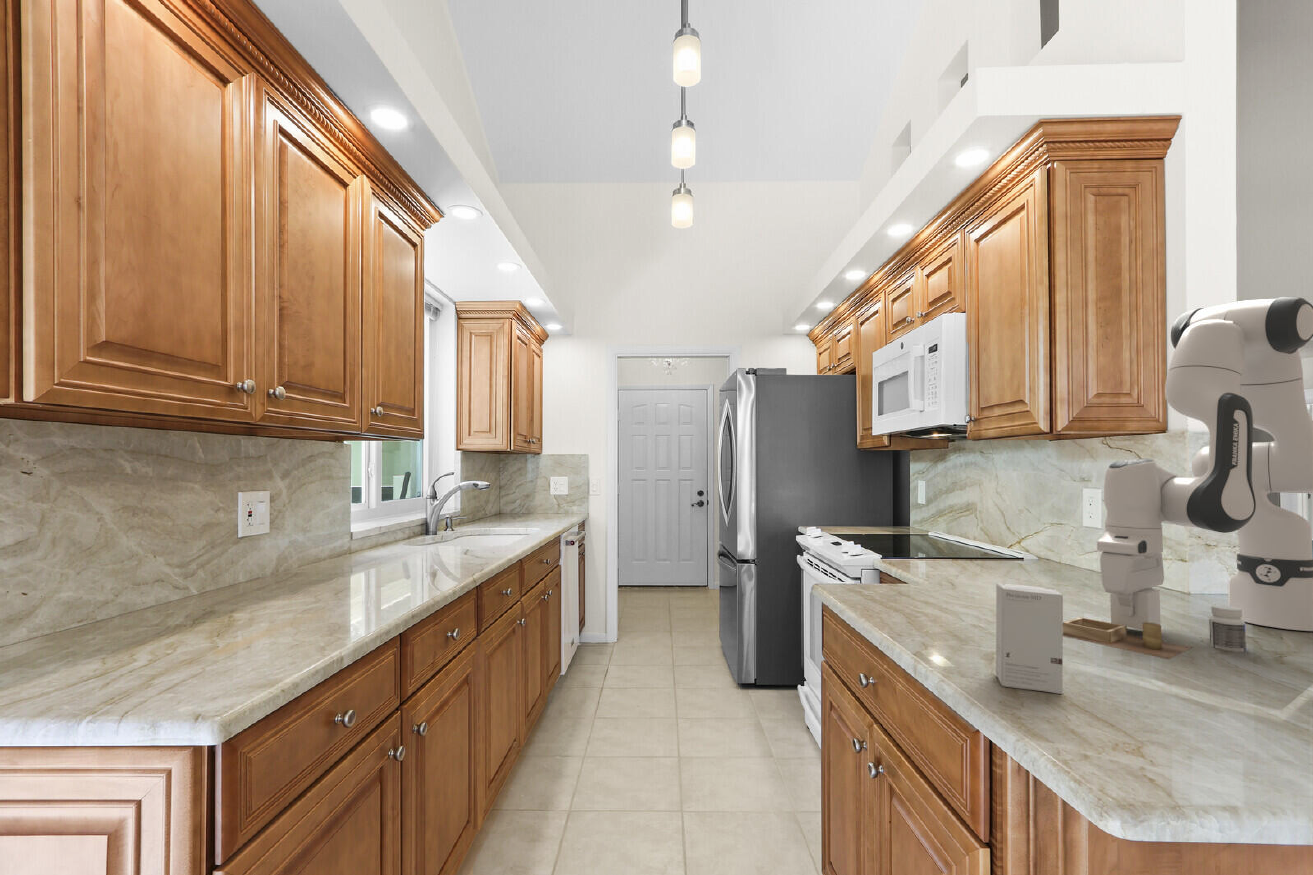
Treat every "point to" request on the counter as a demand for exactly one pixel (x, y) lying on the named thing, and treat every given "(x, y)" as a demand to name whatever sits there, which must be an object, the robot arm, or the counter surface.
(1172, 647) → the board
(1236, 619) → the pill bottle
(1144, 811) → the counter surface
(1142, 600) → the block
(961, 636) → the counter surface
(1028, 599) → the skincare box
